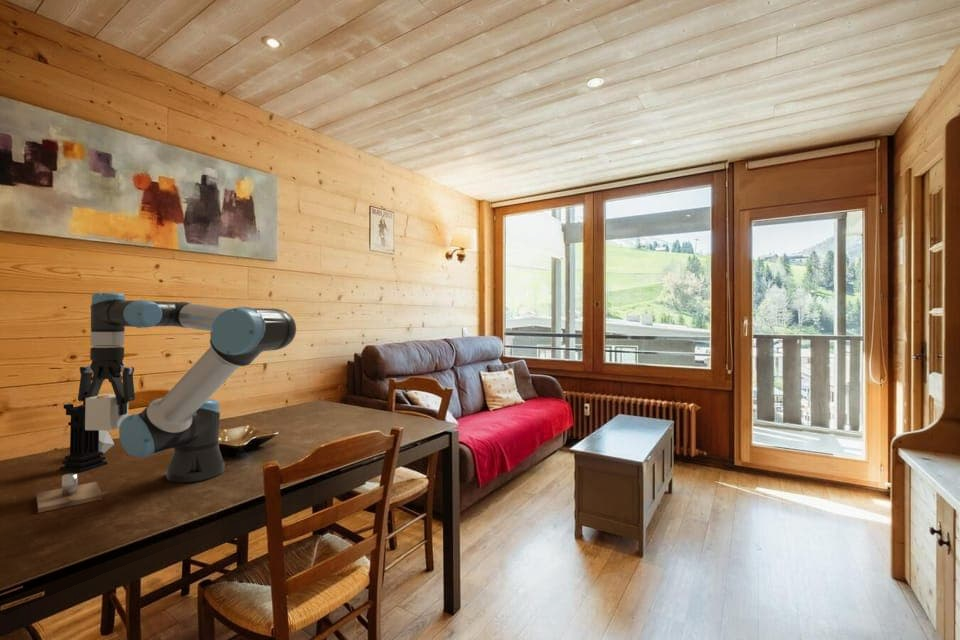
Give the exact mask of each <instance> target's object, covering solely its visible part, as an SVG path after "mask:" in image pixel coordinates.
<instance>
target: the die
mask: <svg viewBox="0 0 960 640" xmlns="http://www.w3.org/2000/svg"><path fill="white" fill-rule="evenodd" d="M113 446H115V442H114V440H113V438H112V436H111V435H110V432H109V431H103V430H99V452H103V455H104V454H105V453H106V452H107V451H108V450H110V449H111V448H112V447H113Z"/></svg>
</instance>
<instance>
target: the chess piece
mask: <svg viewBox="0 0 960 640" xmlns="http://www.w3.org/2000/svg"><path fill="white" fill-rule="evenodd" d="M85 405H86V404H85V402H83V401H82V404H81V405H76V406H74V404H73V403H66V404H63V409H64V410H65V416H70V421H69V422H68V423H67V426H70V433H69V434H70V435H69V454H68V455H65V456H64V460H63V461H62V463H61V464H62V465H63V466H60V467H59V470H60V471H67V472H72V471H73V472H72V473H83V472H87V471H90V470H93V469H97V468H100V467H103V466H105V465H108V461H106V456H103V455H104V454H103V452H99V430H85ZM104 460H105V461H104Z"/></svg>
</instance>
